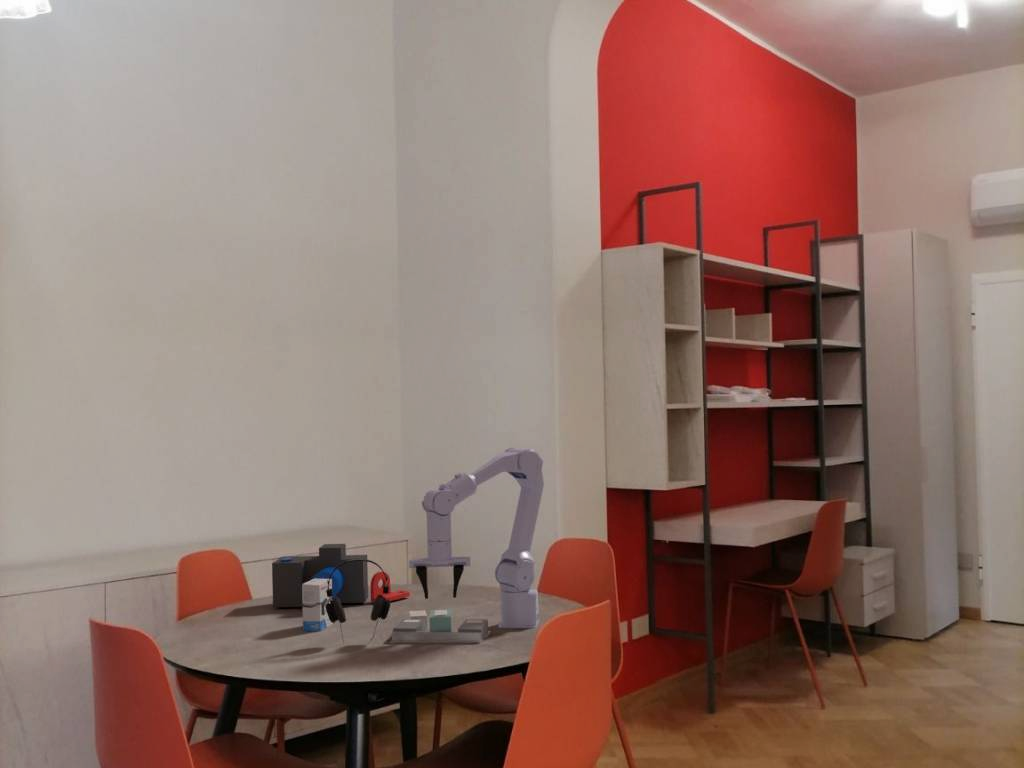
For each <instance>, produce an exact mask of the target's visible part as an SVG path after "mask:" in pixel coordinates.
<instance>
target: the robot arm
mask: <svg viewBox="0 0 1024 768" xmlns="http://www.w3.org/2000/svg"><path fill="white" fill-rule="evenodd" d="M543 465H544V460H543V458H542V457H541V455H540V454H539V452H537V450H535V449H533V448H527V449H526V448H516V447H515V448H514V447H509V448H507V449H505V450H504V451H501V452H498V454H497V455H496V456H494V457H493V458H491V459H490V460H489V461H487V462H486V463H484V464H483V465H481V466H480V467H478V468H477V469H475V470H474V471H473V472H471V473H470V474H468V473H467V472H462V473H459V472H457V473H456V474H454V475H453V476H454V478H452V479H450V480H449V481H447V482H446V483H440V484H439V485H438V486H439V487H438V489H435V488H433V489H430V490H428V491H427V492H426V493H425V495H424V496H423V500H422V501H421V505H422V506H421V507H422V509H423V511H425V513H426V515H425V516H426V535H427V537H426V541H427V557H422V558H421V557H420V558H419V557H418V558H410V559H409V560H408V563H409V564H408V568H409V569H414V568H415V572H416V575H417V577H418V579H419V582H420V584H421V586H422V590H423V593H424V594H423V595H424V599H425V600H426V599H429V586H428V568H439V567H440V568H443V567H448V568H449V567H453V568H452V569H453V571H452V572H453V574H452V575H453V587H452V588H453V593H452V597H453V599H455V598H457V593H458V587H459V584H460V580H461V577H462V575H463V572H464V569H465V567H471V556H453V554H452V553H453V552H452V519H451V518H452V516H451V515H452V512H453V511H454V510H455V506H457V505H459V504H460V503H461V502H463V501H465V500H466V499H468V498H469V497H472V496H473V495H474V494H476V492H477V488H478V486H479V485H482V484H483V483H485V482H487V481H489V480H492V478H495V476H498V475H500V474H502V473H505V472H506V473H508V474H509V475H510V476H512V477H513V478H514V479H515V480H516V481H517V483H518V485H519V487H520V491H519V492H520V493H519V496H518V501H517V506H516V511H515V515H514V521H513V524H512V530H511V534H510V538H509V539H510V540H509V543H508V544H509V545H508V548H507V549H506V550H505V551H504V552H503V553H502V554H501V557H500V560H499V562H498V564H497V565H496V567H495V569H494V578H495V580H496V581H497V583H498V584H499V588H500V617H501V618H500V619H501V620H500V623H498V625H497V628H499V629H536V628H537V626H538V624H539V622H540V611H539V607H540V606H539V592H538V589H531V587H532V585H533V584H534V582H535V578H536V577H535V571H534V568H535V567H534V566H535V560H534V557H532V555H531V549H532V543H533V539H534V533H535V529H536V525H537V520H538V515H539V510H540V504H541V500H542V495H543V492H544V491H543V490H544V487H545V486H544V485H545V483H544V476H543V470H542V469H543Z"/></svg>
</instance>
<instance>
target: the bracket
mask: <svg viewBox="0 0 1024 768" xmlns="http://www.w3.org/2000/svg"><path fill="white" fill-rule="evenodd" d="M384 573H385V576H386V577H388V578H387V585H388V586H389V591H388V594H386V595H385V593H383V586H387V585H386V579H385V576H384ZM384 573H383V572H382V571H376V572H375V573H374V574H373V575H372V578H371V580H370V602H373V603H374V602H375V599H376V597H377V596H378V595H382V596H383V597H384V596H385V598H386V600H387V599H388V600H390V602H392V601H396V600H399V599H403V598H407V597H410V595H411V591H408V590H402V589H399V590H395V591H392V590H391V577H390V574H388V573H387V572H385V571H384ZM380 581H382V585H381V587H379V583H380Z"/></svg>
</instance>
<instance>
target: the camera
mask: <svg viewBox="0 0 1024 768" xmlns="http://www.w3.org/2000/svg"><path fill="white" fill-rule="evenodd" d="M346 549H347V545H346V543H324V544H322V545H321V546H320V547H319V548H318V555H303V556H302V555H297V556H296V555H295V556H293V555H291V556H290V555H289V556H281V557H279V558H277V559H276V560H275V561H274V562H272V563H271V569H272V570H271V572H272V573H271V575H272V576H271V578H272V581H271V582H272V584H271V585H272V608H303V604H302V585H303V584H304V583H306V582H308V581H310V580H312V579H329V578H330V575H331V573H332V572H333V570H334V569H335V568H336V567H337V566H338V565H339V564H341V563H343V562H345V561H347V560H352V559H367V560H368V554H347V550H346ZM368 567H369V566H368V562H366V561H352V562H348V563H345V564H343V565H341V566H339V567H338V568H337V569H336V570H335V571H334V573H333V574H332V576H331V578H330V579H332V593H333V596H332V600H333V598H335V597H338V598H339V599H340V602H341V604H356V603H357V604H358V603H359V604H361V603H363V604H364V603H365V602H366V600H367V599H368V598H369V578H368V577H369V574H368V573H369V572H368V571H369V570H368Z"/></svg>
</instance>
